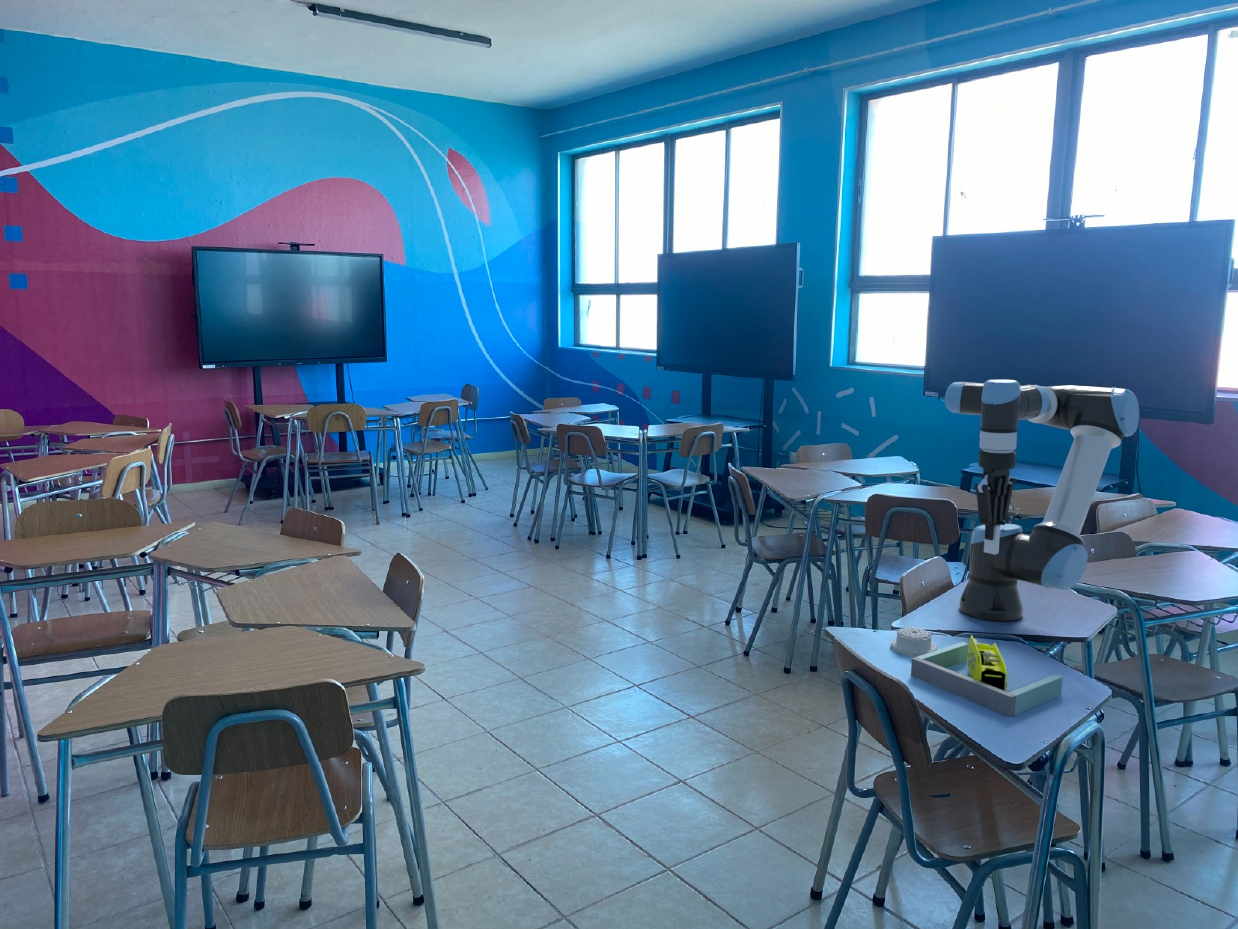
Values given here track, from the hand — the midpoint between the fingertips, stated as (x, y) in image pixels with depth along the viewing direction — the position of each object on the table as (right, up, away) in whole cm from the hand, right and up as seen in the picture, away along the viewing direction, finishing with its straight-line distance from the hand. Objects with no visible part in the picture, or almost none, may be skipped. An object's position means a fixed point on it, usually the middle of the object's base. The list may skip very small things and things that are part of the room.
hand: (991, 552), depth 196 cm
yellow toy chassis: (-8, -26, -15) cm, 31 cm away
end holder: (-8, -26, -16) cm, 31 cm away
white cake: (-16, -23, +4) cm, 29 cm away
